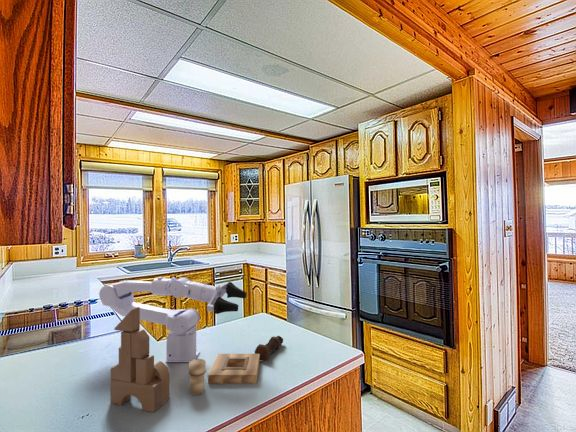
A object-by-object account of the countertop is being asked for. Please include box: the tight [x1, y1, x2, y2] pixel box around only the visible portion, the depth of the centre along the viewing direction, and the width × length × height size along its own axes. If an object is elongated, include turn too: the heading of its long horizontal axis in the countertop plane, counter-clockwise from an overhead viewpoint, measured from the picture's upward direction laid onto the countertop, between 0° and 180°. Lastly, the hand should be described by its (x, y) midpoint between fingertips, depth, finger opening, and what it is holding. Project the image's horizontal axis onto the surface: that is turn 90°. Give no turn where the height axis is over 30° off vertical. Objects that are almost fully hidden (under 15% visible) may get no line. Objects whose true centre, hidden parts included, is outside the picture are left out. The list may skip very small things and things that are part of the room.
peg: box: [188, 358, 207, 396], centre depth 87 cm, size 4×4×8 cm
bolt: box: [254, 335, 284, 362], centre depth 112 cm, size 6×5×15 cm
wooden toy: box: [109, 307, 171, 413], centre depth 83 cm, size 15×7×25 cm, turn 73°
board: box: [207, 353, 261, 384], centre depth 98 cm, size 14×14×3 cm
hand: (242, 301), depth 104 cm, fingers open, 7 cm apart
